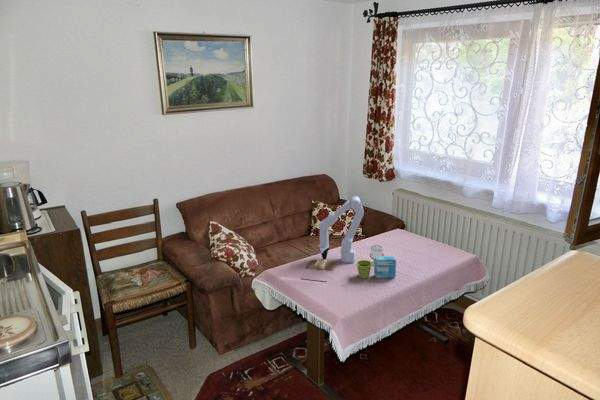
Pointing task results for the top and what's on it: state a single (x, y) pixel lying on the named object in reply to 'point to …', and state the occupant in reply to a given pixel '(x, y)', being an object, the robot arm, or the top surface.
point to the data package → (385, 267)
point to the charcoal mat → (314, 280)
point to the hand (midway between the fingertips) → (324, 258)
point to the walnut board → (329, 267)
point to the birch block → (321, 263)
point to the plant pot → (364, 268)
